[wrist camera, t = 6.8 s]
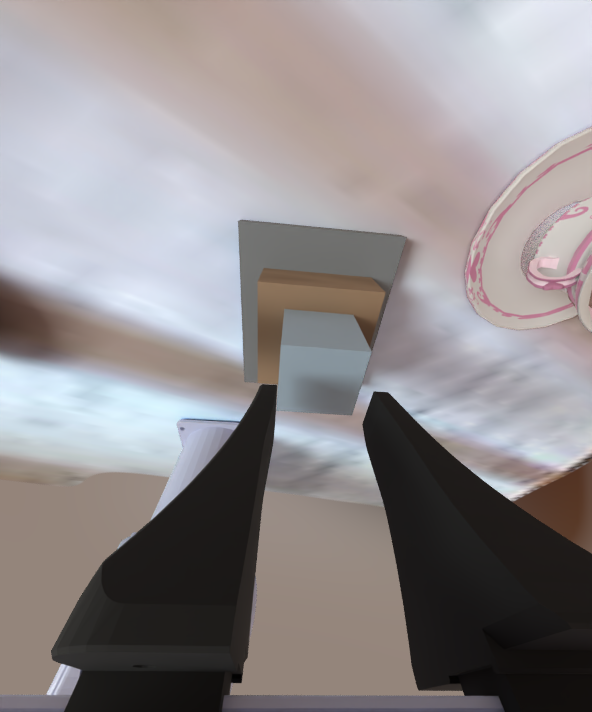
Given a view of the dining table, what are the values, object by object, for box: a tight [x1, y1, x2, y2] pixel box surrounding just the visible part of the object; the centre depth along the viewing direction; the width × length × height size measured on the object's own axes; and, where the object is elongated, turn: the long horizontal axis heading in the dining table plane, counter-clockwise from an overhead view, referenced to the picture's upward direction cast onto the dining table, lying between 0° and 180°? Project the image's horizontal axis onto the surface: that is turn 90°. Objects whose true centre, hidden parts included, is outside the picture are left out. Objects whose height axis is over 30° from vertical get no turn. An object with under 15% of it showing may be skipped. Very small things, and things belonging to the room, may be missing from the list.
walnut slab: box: [258, 268, 386, 384], centre depth 16 cm, size 7×7×3 cm
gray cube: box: [276, 309, 372, 415], centre depth 13 cm, size 4×4×4 cm
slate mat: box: [238, 220, 407, 389], centre depth 18 cm, size 12×10×1 cm
